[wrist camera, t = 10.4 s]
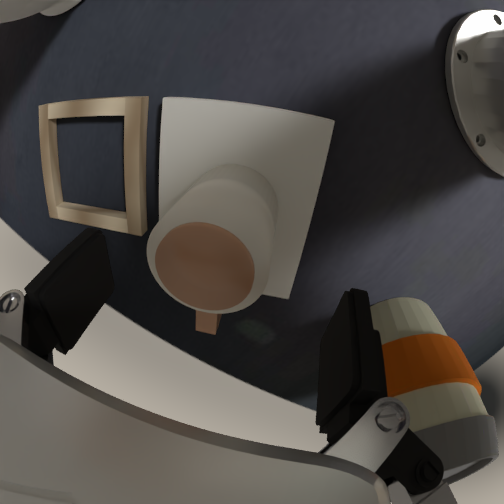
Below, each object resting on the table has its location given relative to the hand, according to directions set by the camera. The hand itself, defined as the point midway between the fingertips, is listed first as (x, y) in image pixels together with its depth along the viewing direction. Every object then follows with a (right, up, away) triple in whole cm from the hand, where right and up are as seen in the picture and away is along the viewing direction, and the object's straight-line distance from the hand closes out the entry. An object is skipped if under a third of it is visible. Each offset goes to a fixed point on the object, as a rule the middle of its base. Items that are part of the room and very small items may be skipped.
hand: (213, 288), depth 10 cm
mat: (0, +5, +8) cm, 10 cm away
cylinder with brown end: (0, +3, +8) cm, 9 cm away
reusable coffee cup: (+14, -6, +13) cm, 20 cm away
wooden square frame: (-11, +8, +8) cm, 16 cm away
